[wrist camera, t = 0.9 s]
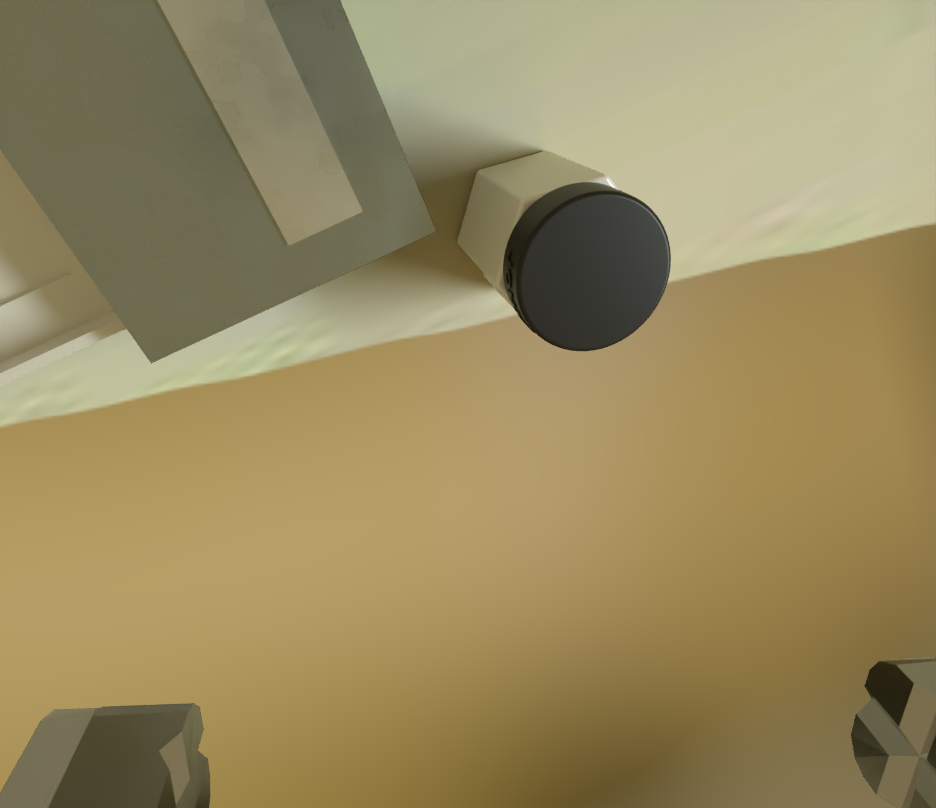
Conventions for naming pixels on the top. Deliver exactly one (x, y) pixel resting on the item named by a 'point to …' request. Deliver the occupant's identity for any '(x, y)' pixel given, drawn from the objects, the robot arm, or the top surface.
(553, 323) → the jar
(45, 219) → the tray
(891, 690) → the robot arm
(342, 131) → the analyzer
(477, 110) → the top surface
